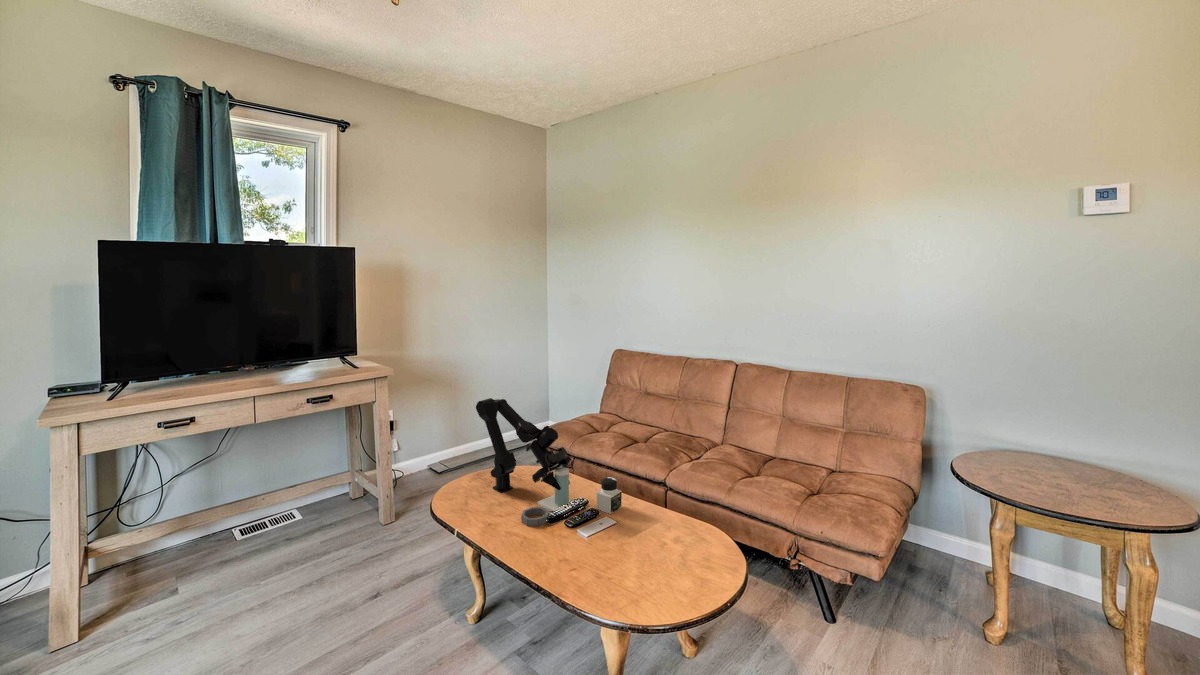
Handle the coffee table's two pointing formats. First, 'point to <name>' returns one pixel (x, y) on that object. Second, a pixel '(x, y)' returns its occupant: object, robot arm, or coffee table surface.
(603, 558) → the coffee table surface
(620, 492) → the medicine bottle
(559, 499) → the jar
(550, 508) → the tray
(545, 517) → the holder ring
